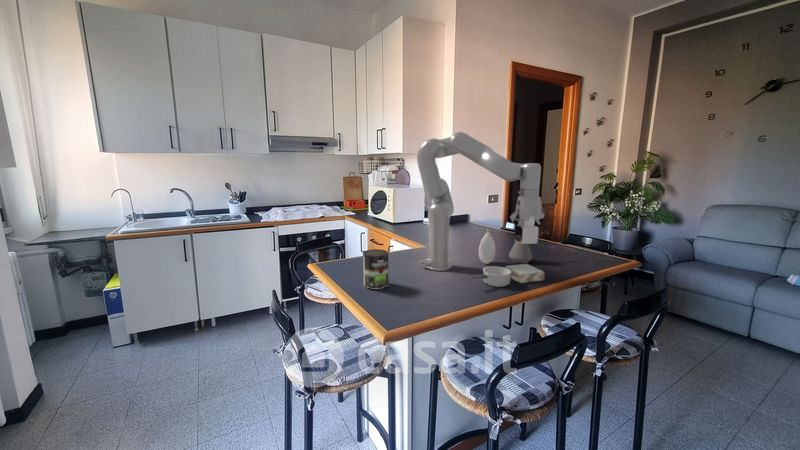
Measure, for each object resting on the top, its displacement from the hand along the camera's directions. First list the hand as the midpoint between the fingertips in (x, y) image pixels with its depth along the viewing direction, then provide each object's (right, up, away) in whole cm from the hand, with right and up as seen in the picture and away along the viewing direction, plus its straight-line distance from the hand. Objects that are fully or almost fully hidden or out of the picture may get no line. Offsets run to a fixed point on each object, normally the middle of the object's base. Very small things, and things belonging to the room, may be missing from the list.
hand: (526, 233), depth 142 cm
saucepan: (-17, -21, -5) cm, 28 cm away
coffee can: (-64, -21, -5) cm, 68 cm away
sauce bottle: (-11, -16, +23) cm, 30 cm away
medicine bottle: (0, -4, +1) cm, 4 cm away
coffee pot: (+12, -15, +28) cm, 33 cm away
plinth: (0, -19, +4) cm, 19 cm away
